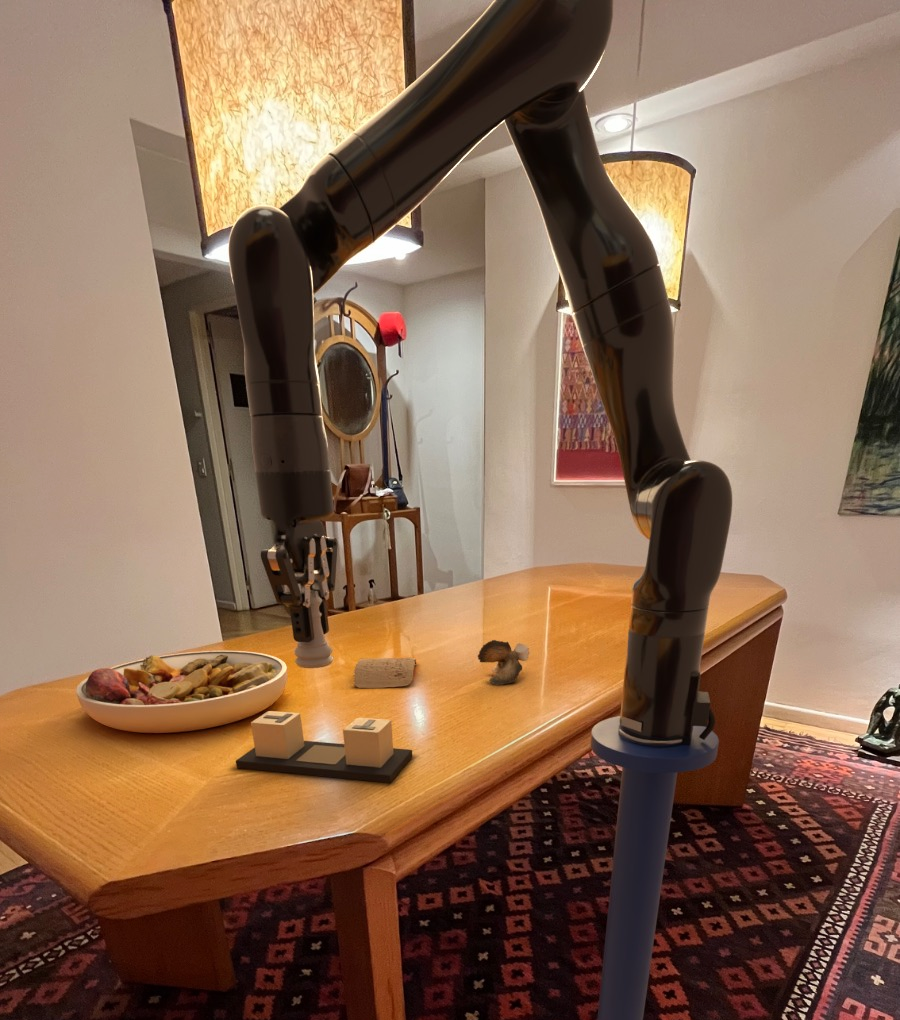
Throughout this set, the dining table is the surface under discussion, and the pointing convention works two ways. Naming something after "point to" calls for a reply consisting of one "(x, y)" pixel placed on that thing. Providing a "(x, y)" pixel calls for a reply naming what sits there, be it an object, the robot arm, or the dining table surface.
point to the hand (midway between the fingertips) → (312, 636)
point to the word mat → (327, 763)
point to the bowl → (183, 690)
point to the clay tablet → (383, 672)
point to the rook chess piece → (314, 641)
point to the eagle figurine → (504, 660)
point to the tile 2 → (368, 742)
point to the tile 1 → (277, 734)
